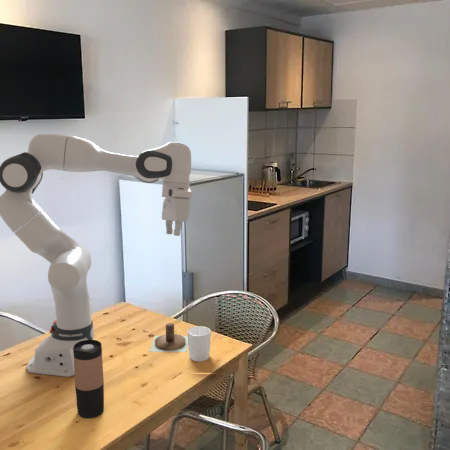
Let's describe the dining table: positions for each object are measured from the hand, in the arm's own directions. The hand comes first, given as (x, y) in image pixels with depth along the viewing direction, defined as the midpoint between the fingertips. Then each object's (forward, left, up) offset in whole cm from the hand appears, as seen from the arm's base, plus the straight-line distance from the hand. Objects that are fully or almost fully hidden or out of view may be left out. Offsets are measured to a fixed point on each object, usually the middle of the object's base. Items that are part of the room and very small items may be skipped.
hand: (172, 235), depth 163 cm
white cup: (+9, -1, -43) cm, 44 cm away
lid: (-2, +9, -43) cm, 44 cm away
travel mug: (-20, -33, -43) cm, 58 cm away
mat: (-2, +9, -43) cm, 44 cm away
